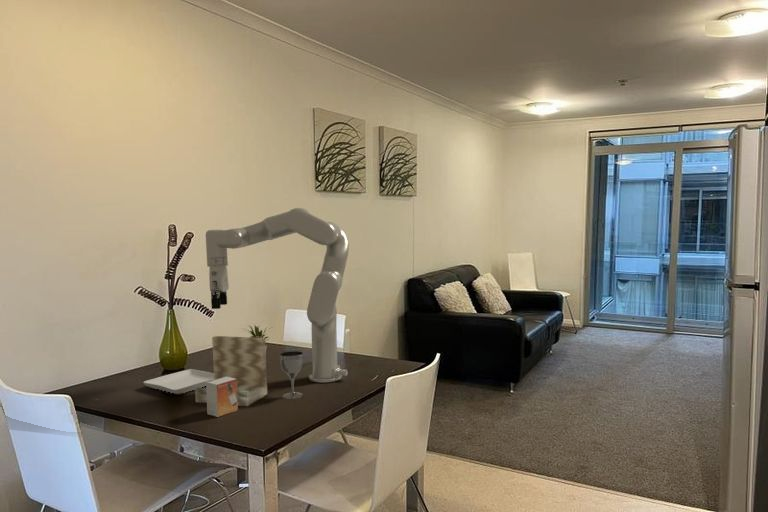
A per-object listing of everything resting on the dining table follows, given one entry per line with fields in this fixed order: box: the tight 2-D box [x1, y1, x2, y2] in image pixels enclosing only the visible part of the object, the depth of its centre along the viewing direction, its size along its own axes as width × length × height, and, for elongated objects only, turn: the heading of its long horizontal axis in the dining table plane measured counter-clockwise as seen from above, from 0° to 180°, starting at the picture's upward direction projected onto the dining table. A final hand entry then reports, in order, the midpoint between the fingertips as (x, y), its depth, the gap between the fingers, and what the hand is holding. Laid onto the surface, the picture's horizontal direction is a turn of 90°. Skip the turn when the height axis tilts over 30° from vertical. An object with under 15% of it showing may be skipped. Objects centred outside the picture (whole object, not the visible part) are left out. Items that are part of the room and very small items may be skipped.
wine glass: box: [279, 350, 304, 400], centre depth 191 cm, size 8×8×15 cm
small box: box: [205, 376, 239, 418], centre depth 176 cm, size 8×6×10 cm
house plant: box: [241, 324, 273, 353], centre depth 243 cm, size 14×14×16 cm
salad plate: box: [142, 368, 214, 395], centre depth 207 cm, size 21×21×3 cm
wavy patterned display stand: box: [194, 335, 268, 407], centre depth 190 cm, size 20×13×20 cm, turn 73°
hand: (219, 306), depth 211 cm, fingers open, 9 cm apart
